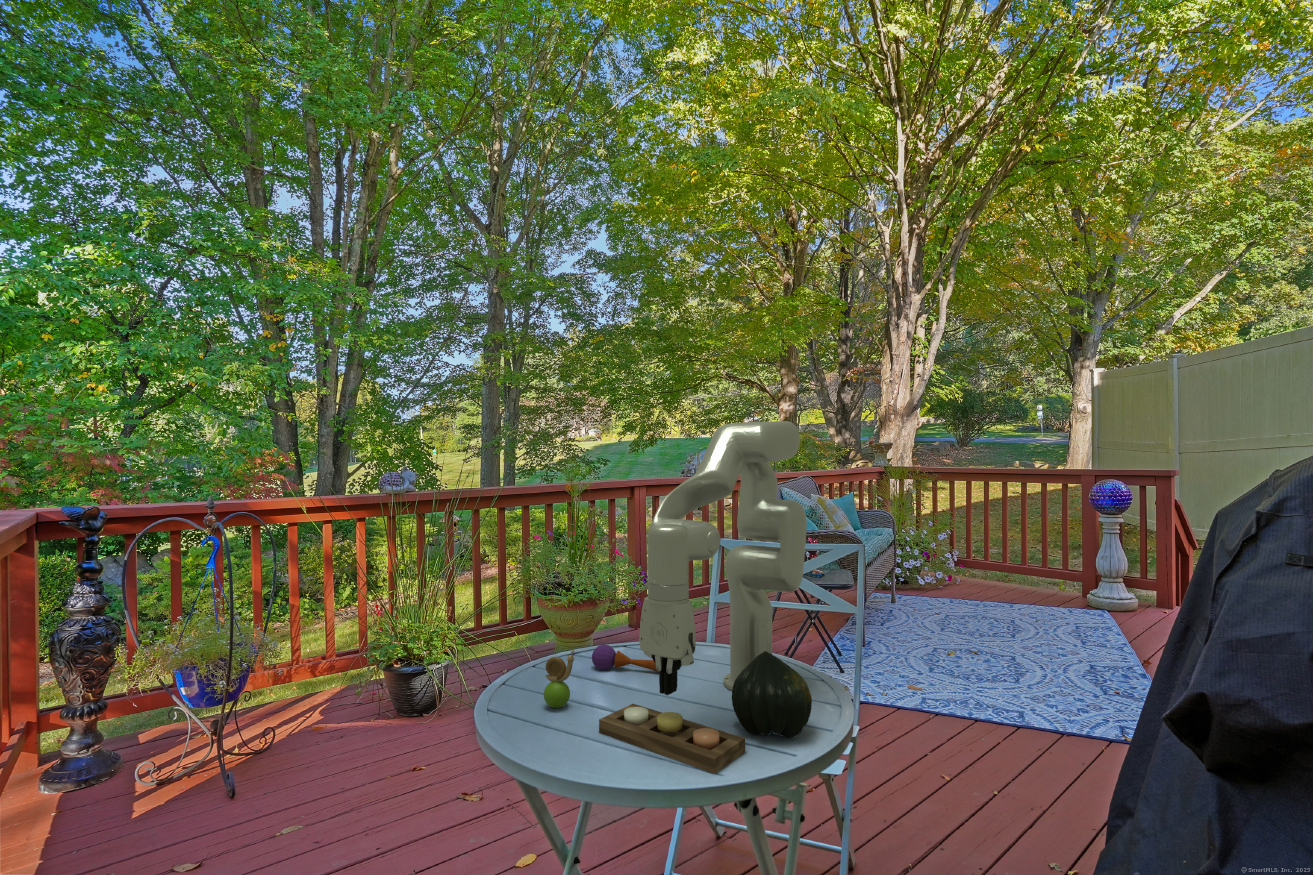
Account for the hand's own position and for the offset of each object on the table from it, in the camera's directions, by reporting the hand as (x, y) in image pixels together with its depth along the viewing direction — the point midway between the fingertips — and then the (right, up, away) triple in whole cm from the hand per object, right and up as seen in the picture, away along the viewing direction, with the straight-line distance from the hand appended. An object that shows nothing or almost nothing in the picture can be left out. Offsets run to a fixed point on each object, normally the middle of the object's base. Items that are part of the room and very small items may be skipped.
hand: (668, 691), depth 121 cm
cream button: (-6, -7, +5) cm, 11 cm away
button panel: (0, -9, 0) cm, 9 cm away
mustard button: (0, -6, 0) cm, 6 cm away
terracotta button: (+7, -7, -5) cm, 11 cm away
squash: (+20, -9, +5) cm, 22 cm away
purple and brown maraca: (-8, -10, +39) cm, 41 cm away
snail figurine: (-22, -10, +16) cm, 29 cm away
